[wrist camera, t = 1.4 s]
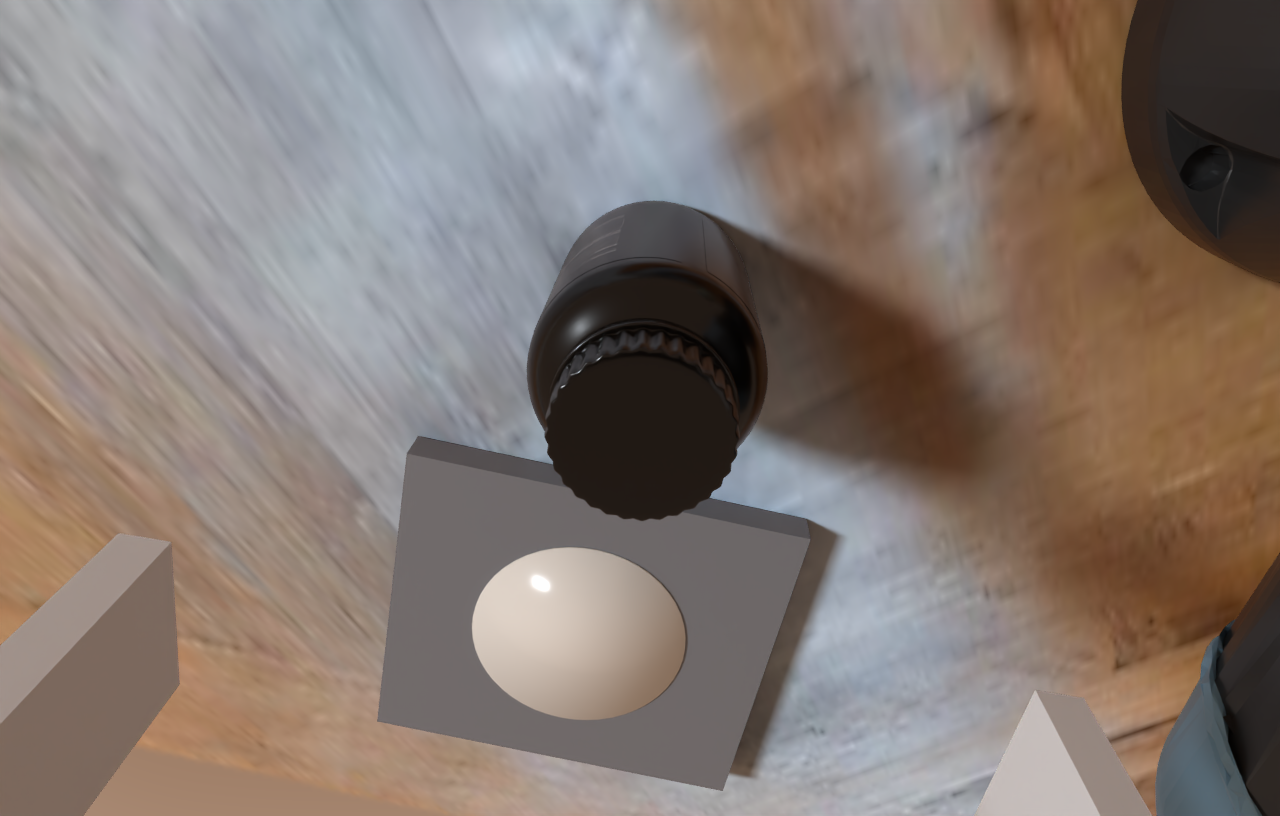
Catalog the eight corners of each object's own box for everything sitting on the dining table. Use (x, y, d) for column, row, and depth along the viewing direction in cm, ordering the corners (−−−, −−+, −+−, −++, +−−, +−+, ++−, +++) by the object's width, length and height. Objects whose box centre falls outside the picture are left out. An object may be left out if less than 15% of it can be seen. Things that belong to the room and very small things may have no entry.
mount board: (806, 519, 36) (810, 540, 34) (721, 765, 42) (722, 792, 40) (418, 436, 35) (406, 454, 34) (387, 697, 41) (376, 723, 40)
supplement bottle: (581, 387, 34) (527, 568, 23) (546, 211, 31) (466, 322, 20) (759, 365, 33) (791, 543, 22) (740, 183, 30) (765, 283, 19)
